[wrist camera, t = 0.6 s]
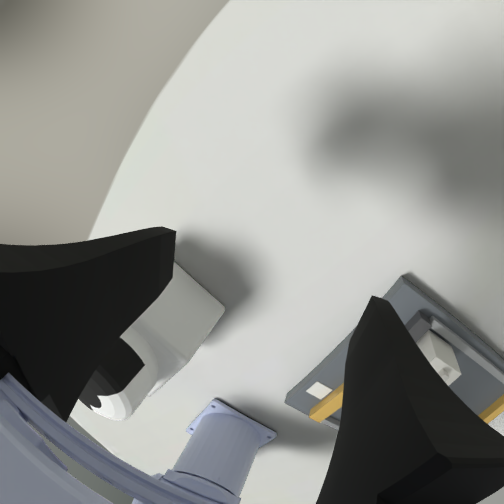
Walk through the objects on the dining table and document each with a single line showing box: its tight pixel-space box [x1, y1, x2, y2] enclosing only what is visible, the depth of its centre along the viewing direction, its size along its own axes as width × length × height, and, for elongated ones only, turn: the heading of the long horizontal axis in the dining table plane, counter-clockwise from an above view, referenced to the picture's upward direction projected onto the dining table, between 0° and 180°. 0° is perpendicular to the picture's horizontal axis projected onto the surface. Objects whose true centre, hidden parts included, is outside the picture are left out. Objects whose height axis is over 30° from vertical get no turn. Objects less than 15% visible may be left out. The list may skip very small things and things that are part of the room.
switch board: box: [284, 276, 504, 431], centre depth 21 cm, size 15×20×2 cm
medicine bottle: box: [78, 262, 225, 421], centre depth 20 cm, size 7×7×12 cm
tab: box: [416, 330, 461, 386], centre depth 17 cm, size 4×3×4 cm
